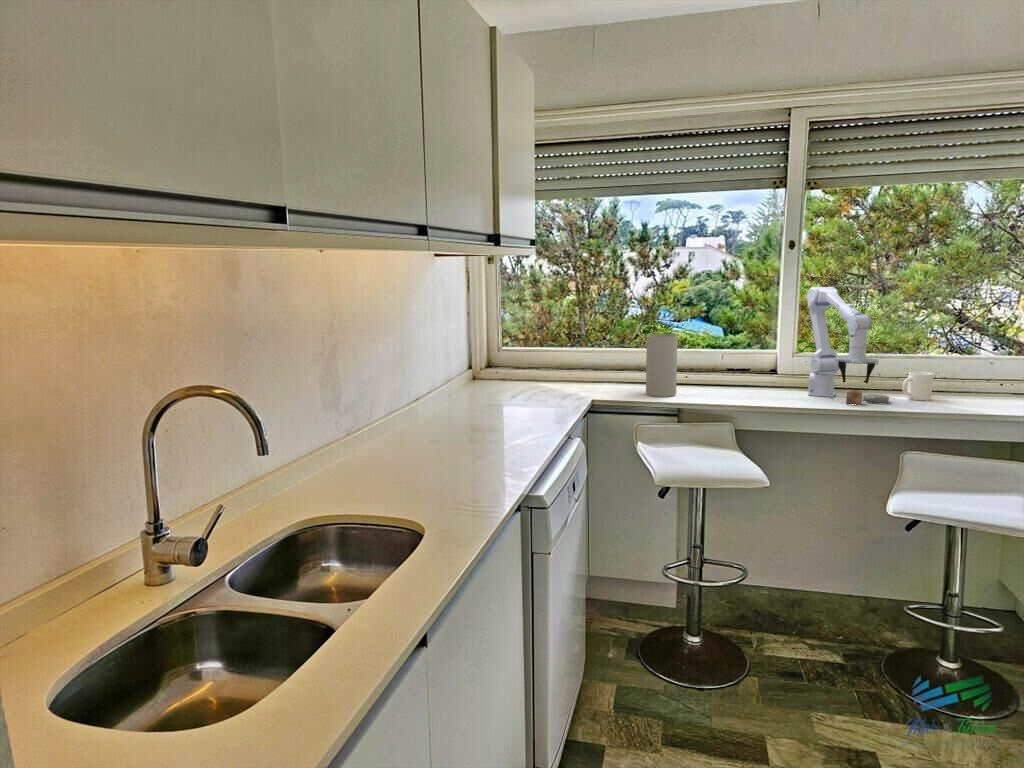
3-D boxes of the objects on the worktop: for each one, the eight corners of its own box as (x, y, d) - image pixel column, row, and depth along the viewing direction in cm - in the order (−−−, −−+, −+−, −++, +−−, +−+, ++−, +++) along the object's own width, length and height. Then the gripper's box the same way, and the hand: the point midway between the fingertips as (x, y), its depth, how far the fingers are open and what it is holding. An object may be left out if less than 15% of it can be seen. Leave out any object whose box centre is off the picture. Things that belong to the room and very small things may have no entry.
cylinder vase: (679, 397, 279) (680, 336, 274) (648, 397, 279) (649, 337, 275) (672, 391, 291) (673, 333, 287) (643, 392, 291) (644, 334, 287)
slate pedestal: (861, 402, 261) (862, 397, 260) (863, 398, 268) (863, 393, 268) (888, 404, 256) (888, 399, 256) (889, 400, 264) (889, 395, 263)
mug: (909, 402, 260) (911, 375, 258) (893, 398, 268) (895, 372, 266) (936, 400, 262) (938, 374, 260) (919, 396, 270) (921, 371, 268)
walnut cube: (845, 404, 258) (846, 391, 257) (847, 402, 262) (847, 389, 261) (860, 405, 255) (861, 392, 255) (861, 403, 260) (862, 390, 259)
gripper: (835, 347, 255) (833, 382, 258) (878, 349, 248) (876, 385, 250) (837, 345, 261) (835, 380, 264) (879, 346, 254) (877, 382, 256)
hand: (855, 382), depth 257 cm, fingers open, 7 cm apart
